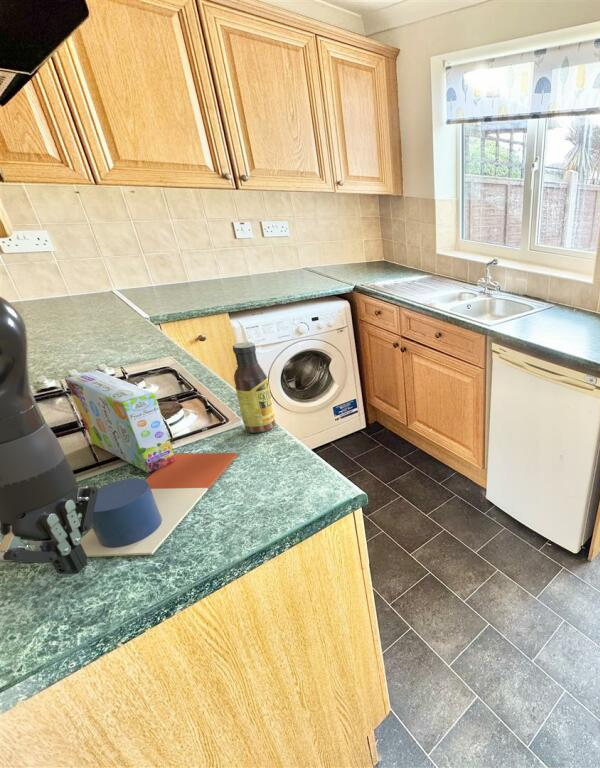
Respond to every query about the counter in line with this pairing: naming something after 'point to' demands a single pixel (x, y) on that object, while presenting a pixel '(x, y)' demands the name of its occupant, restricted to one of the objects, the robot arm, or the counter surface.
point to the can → (125, 513)
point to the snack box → (122, 419)
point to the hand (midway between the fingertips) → (75, 569)
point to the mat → (169, 499)
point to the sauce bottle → (252, 390)
